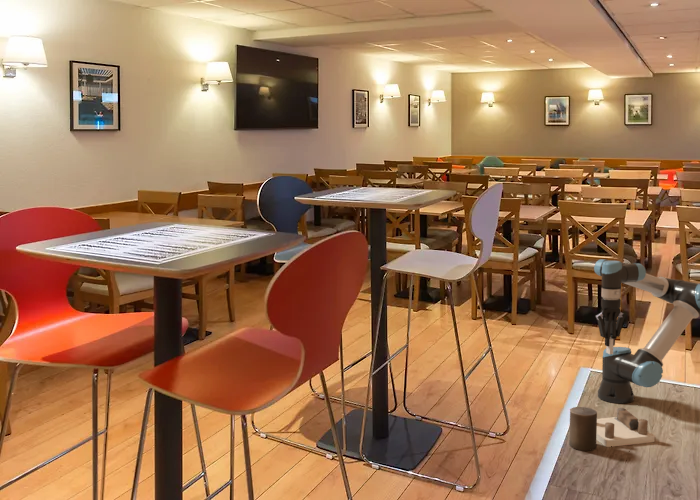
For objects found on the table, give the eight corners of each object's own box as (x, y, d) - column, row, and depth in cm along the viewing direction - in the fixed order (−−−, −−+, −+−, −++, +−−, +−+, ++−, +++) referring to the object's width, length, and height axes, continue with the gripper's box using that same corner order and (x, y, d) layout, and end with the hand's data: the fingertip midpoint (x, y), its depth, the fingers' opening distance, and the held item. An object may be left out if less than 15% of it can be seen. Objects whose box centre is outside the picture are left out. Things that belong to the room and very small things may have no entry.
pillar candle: (596, 452, 241) (597, 413, 239) (568, 449, 245) (569, 410, 243) (596, 442, 250) (597, 404, 248) (569, 439, 254) (570, 401, 252)
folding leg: (615, 417, 266) (615, 407, 266) (623, 417, 267) (624, 407, 266) (630, 430, 254) (630, 419, 253) (639, 429, 254) (639, 419, 254)
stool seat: (623, 422, 269) (623, 404, 268) (654, 441, 249) (655, 423, 248) (578, 426, 265) (578, 408, 264) (606, 447, 246) (607, 427, 245)
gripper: (601, 300, 267) (600, 357, 270) (630, 298, 269) (629, 354, 272) (591, 297, 274) (590, 352, 277) (619, 295, 277) (618, 349, 280)
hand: (609, 353), depth 275 cm, fingers closed
